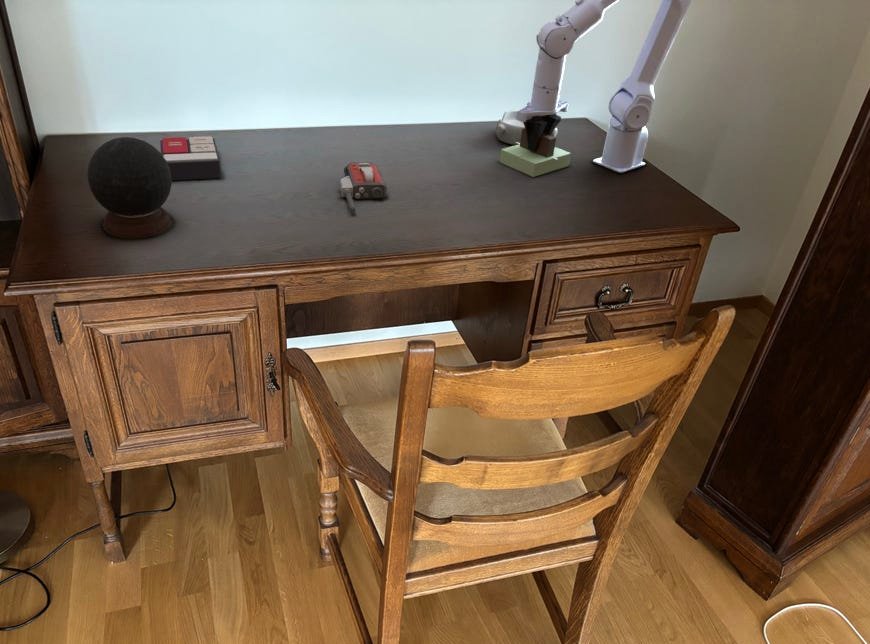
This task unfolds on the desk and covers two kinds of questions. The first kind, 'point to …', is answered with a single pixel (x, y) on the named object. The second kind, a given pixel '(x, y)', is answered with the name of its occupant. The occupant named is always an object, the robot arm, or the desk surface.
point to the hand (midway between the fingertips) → (536, 148)
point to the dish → (512, 128)
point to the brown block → (540, 144)
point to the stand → (533, 160)
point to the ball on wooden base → (131, 187)
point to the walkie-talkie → (362, 182)
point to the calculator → (191, 157)
